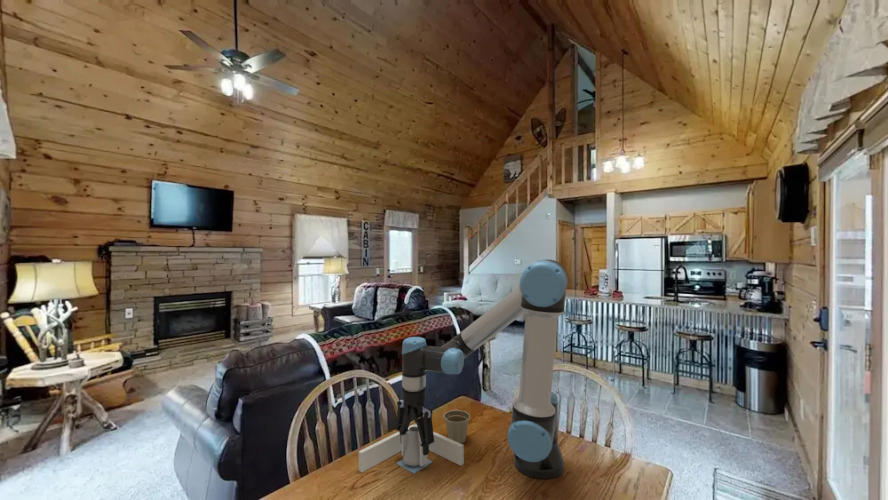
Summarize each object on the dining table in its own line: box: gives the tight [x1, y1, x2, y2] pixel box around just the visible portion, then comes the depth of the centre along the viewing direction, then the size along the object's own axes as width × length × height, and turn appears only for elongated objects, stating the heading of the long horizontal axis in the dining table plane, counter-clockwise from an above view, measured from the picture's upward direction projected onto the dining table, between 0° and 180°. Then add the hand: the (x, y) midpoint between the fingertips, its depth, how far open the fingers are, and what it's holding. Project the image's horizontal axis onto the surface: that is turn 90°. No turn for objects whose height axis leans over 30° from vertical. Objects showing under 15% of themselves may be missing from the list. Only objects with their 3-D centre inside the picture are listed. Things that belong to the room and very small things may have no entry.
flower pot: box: [443, 409, 471, 444], centre depth 134 cm, size 9×9×9 cm
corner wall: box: [358, 423, 465, 473], centre depth 117 cm, size 22×24×6 cm
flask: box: [402, 426, 420, 466], centre depth 119 cm, size 7×7×10 cm
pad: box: [396, 459, 433, 475], centre depth 119 cm, size 8×8×1 cm
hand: (414, 459), depth 119 cm, fingers closed on flask, 8 cm apart
